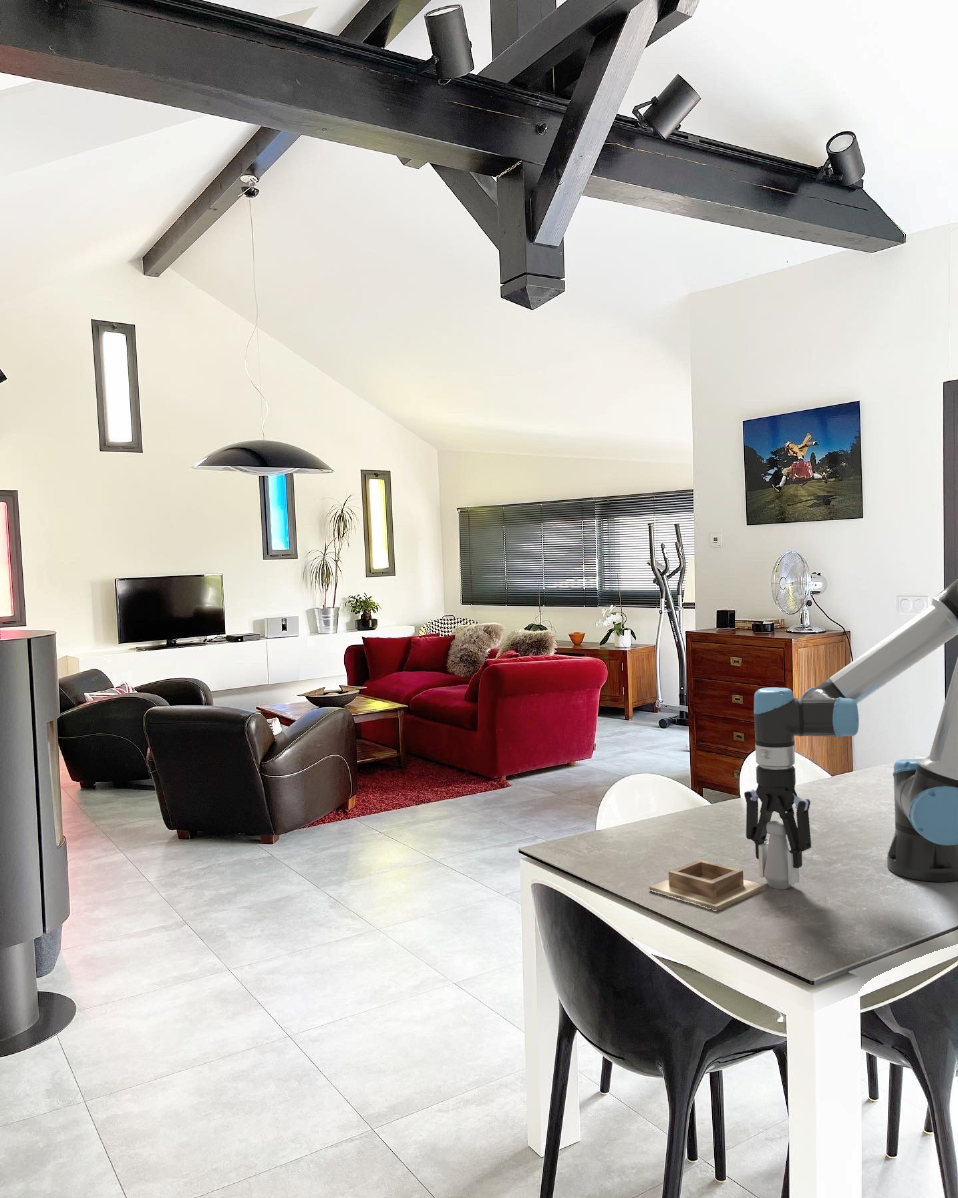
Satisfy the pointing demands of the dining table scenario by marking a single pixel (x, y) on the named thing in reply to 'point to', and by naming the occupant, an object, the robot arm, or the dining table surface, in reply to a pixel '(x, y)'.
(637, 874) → the dining table surface
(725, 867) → the collar board
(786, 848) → the salt shaker
